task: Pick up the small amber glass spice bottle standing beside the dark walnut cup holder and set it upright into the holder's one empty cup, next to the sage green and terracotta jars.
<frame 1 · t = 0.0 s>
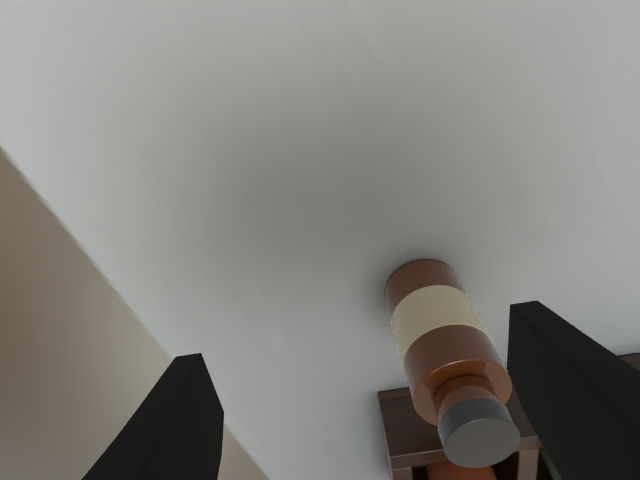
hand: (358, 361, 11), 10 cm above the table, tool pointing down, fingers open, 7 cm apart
clay jar: (447, 434, 27), point 1 cm above the table, touching cup holder
spice bottle: (421, 290, 23), on the table
cup holder: (551, 410, 27), on the table
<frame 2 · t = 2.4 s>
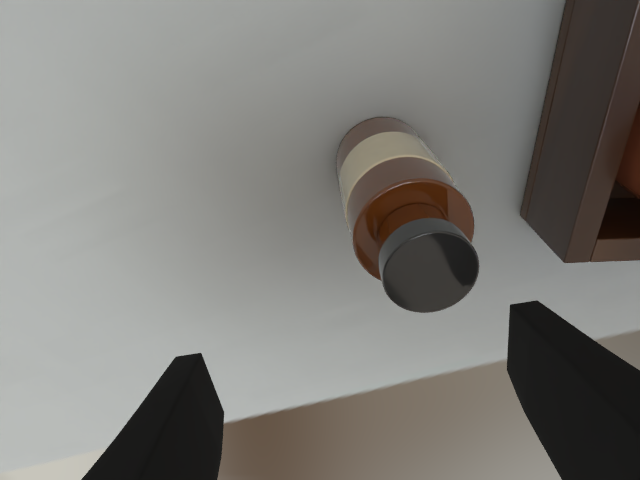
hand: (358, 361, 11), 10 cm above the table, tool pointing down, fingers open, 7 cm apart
clay jar: (631, 138, 19), point 1 cm above the table, touching cup holder
spice bottle: (379, 160, 19), on the table
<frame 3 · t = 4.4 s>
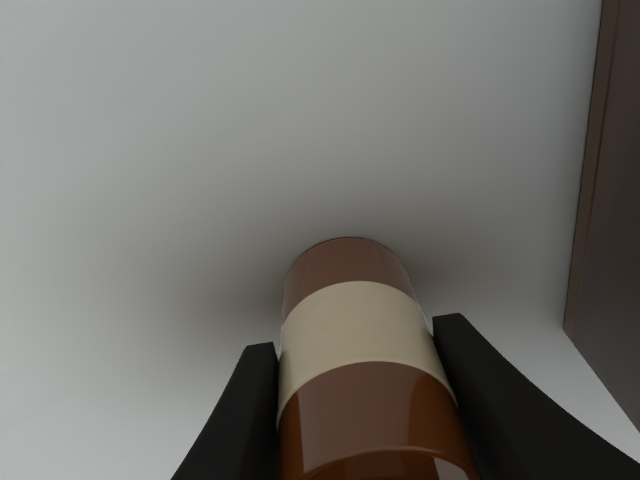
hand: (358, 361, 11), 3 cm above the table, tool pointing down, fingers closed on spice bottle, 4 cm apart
spice bottle: (346, 291, 14), on the table, touching gripper
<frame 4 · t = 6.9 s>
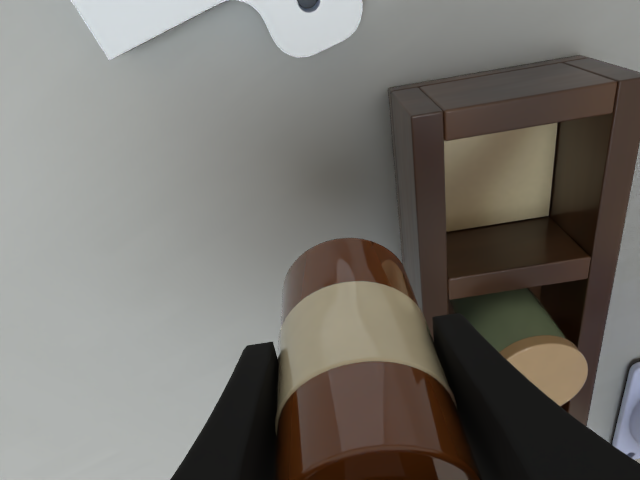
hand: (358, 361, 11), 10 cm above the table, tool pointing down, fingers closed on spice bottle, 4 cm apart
spice bottle: (345, 291, 14), point 7 cm above the table, touching gripper
green jar: (484, 292, 22), point 1 cm above the table, touching cup holder
cup holder: (480, 284, 22), on the table
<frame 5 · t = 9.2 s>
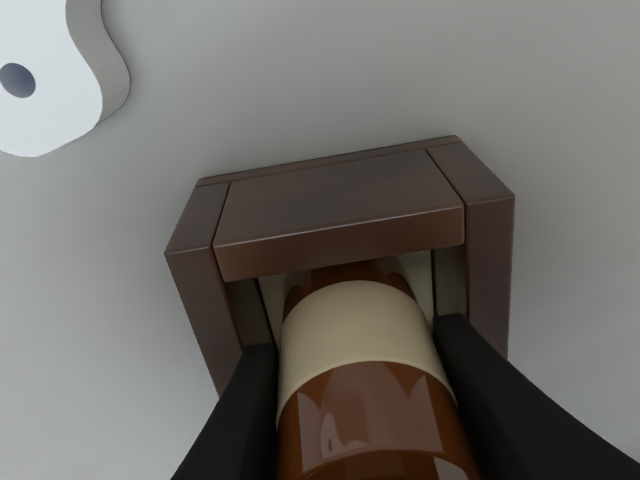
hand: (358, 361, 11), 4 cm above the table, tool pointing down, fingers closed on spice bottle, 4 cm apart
spice bottle: (346, 290, 14), point 1 cm above the table, touching gripper
cup holder: (365, 402, 18), on the table
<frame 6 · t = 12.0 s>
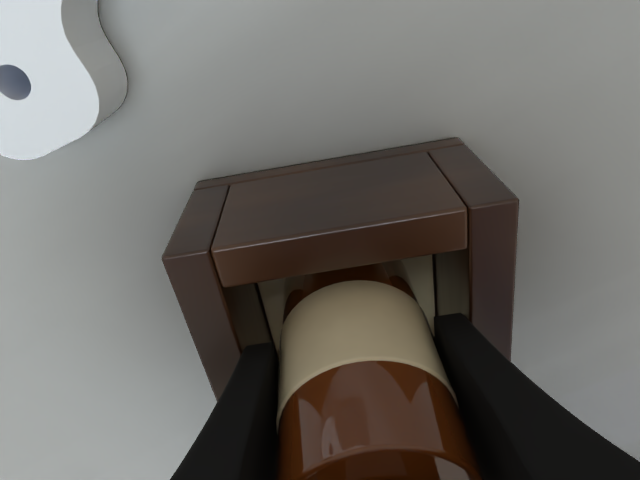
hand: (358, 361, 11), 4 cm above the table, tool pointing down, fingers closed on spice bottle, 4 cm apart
spice bottle: (346, 290, 14), point 1 cm above the table, touching gripper
cup holder: (366, 406, 18), on the table
when the fingers open (5 cm above the table, at t = 14.3 s): spice bottle drops 1 cm, resting on cup holder.
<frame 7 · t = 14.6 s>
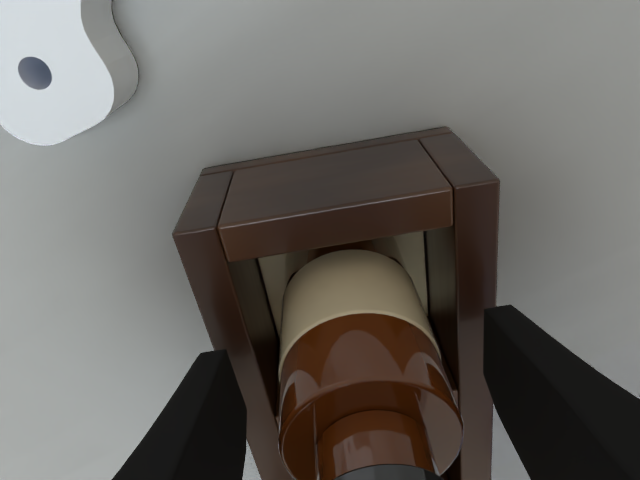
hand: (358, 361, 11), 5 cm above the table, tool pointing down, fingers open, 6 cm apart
spice bottle: (342, 264, 15), point 1 cm above the table, touching cup holder
cup holder: (362, 385, 18), on the table
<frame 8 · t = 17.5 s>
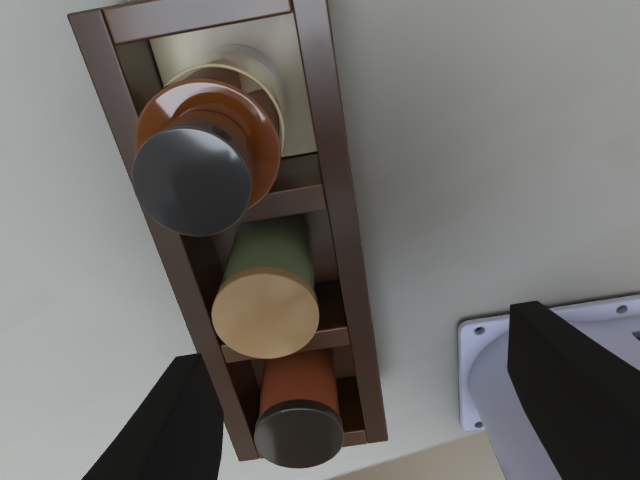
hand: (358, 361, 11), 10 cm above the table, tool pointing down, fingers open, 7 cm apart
clay jar: (299, 345, 24), point 1 cm above the table, touching cup holder
spice bottle: (237, 96, 17), point 1 cm above the table, touching cup holder
green jar: (273, 239, 21), point 1 cm above the table, touching cup holder
cup holder: (274, 232, 21), on the table
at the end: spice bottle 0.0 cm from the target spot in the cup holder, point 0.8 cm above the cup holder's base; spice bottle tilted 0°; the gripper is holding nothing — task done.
